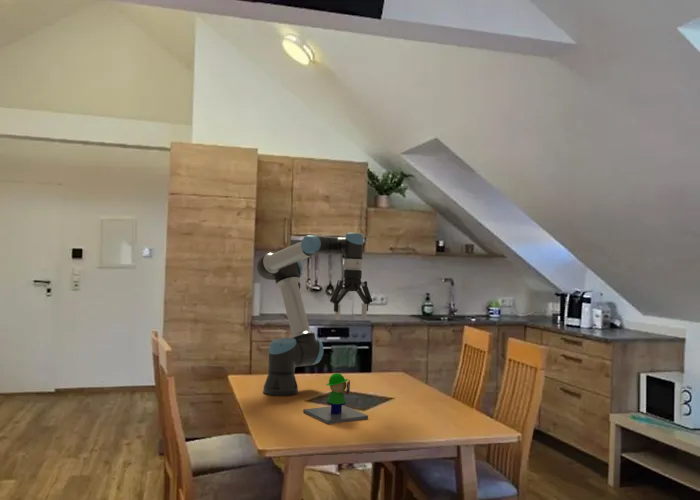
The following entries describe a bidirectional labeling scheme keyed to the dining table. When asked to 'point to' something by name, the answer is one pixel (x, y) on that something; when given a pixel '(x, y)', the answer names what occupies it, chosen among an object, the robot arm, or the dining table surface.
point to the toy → (337, 392)
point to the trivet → (328, 418)
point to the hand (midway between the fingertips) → (350, 319)
